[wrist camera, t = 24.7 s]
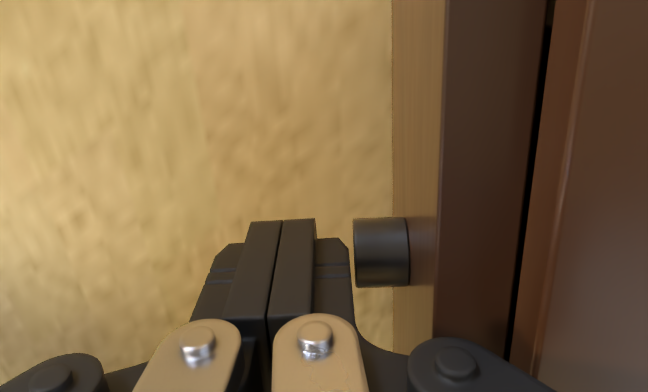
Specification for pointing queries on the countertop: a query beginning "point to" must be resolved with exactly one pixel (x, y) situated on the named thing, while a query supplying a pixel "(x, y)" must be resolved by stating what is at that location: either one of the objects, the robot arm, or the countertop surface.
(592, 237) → the cabinet
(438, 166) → the drawer
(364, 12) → the countertop surface
